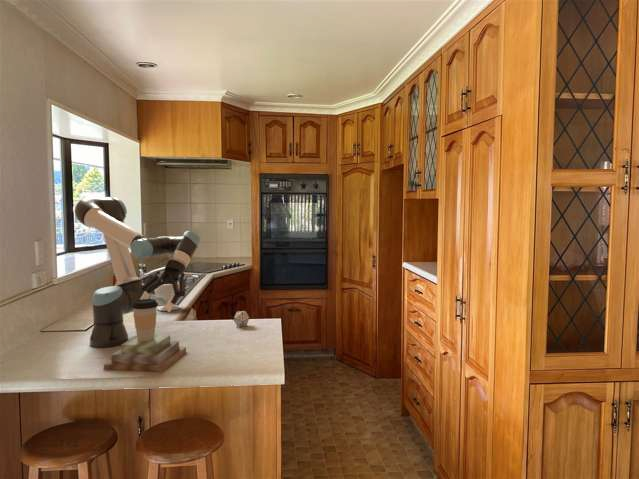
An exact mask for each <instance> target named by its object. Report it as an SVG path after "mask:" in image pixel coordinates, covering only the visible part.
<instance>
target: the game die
mask: <svg viewBox="0 0 639 479" xmlns="http://www.w3.org/2000/svg"><path fill="white" fill-rule="evenodd" d="M251 318H252V316H249V314H248V313H247V309H245V310H241V311H240V310H239V311H237V310H235V314H234V316H233V319H232V321H234V324H235V325H236V328H238V327H247V328H248V327H249V326H248V322H249V320H250V319H251Z"/></svg>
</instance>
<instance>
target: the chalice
mask: <svg viewBox="0 0 639 479" xmlns="http://www.w3.org/2000/svg"><path fill="white" fill-rule="evenodd" d="M177 283H178V288H179V285H180V281H177ZM154 294H155V295H156V296H157V297H159V298H160V299H163V300H164V301H165V302H166V303H165V304H166V305H167V303H168V301H169V299H170V297H171V296H172V294H174V289H173V285H170V284H164V285H161V286H159V287H158V288H156V289H155V290H154ZM174 295H175V294H174ZM166 305H162V306H159V307H157V308H156V311H159V312H161V311H162V312H168V311H167V310H166V309H165V307H166ZM179 309H180V306H178V305H173V307H172V309H171V311H176V310H179ZM171 311H170V312H171Z"/></svg>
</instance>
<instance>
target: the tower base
mask: <svg viewBox="0 0 639 479" xmlns="http://www.w3.org/2000/svg"><path fill="white" fill-rule="evenodd" d="M186 353H187V347H186V346H180V341H179V340H178V341H177V340H171V335H169V334H168V335H166V334H164V335H163V334H155V335H154V340H152V341H149V342H139V341H138V339H137V335H136V336H134V337H132V338H130V339H128V341H127V342H125V343H123V344H121V346H120V349H118V350H116V351H115V352H114V353H112V354H111V359H110V360H107V362H105V363H104V364H103V370H104V369H105V370H104V371H122V370H123V371H126V372H149V373H154V372H155V373H163V372H164V371H165V370H166V369H167V368H169V367H170V366H172V364H174V363H175V362H176V361H177V360H178V359H179V358H181V357H182V356H184V355H185V354H186Z"/></svg>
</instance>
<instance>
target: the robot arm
mask: <svg viewBox="0 0 639 479" xmlns="http://www.w3.org/2000/svg"><path fill="white" fill-rule="evenodd" d="M127 211H128V210H127V207H126V205H125V203H124V202H123V201H122V200H121V199H119V198H118V197H111V196H106V197H105V196H100V197H98V196H97V197H96V196H94V197H92V196H88V197H84V198H82V199H80V200H79V201H78V202H77V203H76V205H75V208H74V216H75V218H76V220H78V222H79V223H81V224H82V225H84V227H85V226H86V227H87V228H90V229H93V228H94V229H95V230H97V231H99V232H100V233H102V235H103V239H104V242H105V245H106V248H107V251H108V252H107V253H108V255H109V259H110V263H111V266H112V269H113V274H114V276H115V279H116V283H115V285H111V286H105V287H101V288H99V289H96V290H95V291H94V292H93V294H92V302H91V304H92V313H93V314H92V315H93V316H92V317H93V327H92V331H91V335H90V337H89V345H90V346H91V347H93V348H111V347H116V346H120V345H122V344H123V343H125V342H127V341H128V340H129V334H128V331H127V328H126V326H125V323H124V315H127V314H130V313H134V312H133V308H132V305H133V304H134V301H136V300H141V299H152V293H153V291H155V289H156V288H158V287H159V286H161V285H164V284H170V285H173V289H174V294H175V295H174V294H172V296H171V297H170V299H169V301H168V303H167V302H166V304H167V305H165V306H166V307H165V309H166V310H167V311H166V312H168V313H171V309H172V307H173V306H175V305H176V303H177V302H178V300H179V298H181V297H185V296H186V280H187V278H188V277H187V275H186V274H185V271H186V268H187V267H188V265H189V263H190V262H191V259H192V258H193V255H194V254H195V252H196V250H197V248H198V246H199V244H200V242H201V238H200V236H199V234H197V233H196V232H194V231H192V230H186V231H185V232H184V233H183V234H182V235H181V236H167V235H164V236H158V237H148V236H146V235H144V234H142V233H141V232H138V231H136V230H135V229H133V228H131V227H130V226H128V225H126V224H125V219H126V217H127V213H128V212H127ZM130 252H131V253H130ZM131 254H132V255H133V257H135V258H137V259H147V258H153V257H158V256H166V255H170V258H169V260H168V261H167V263H166V264H165V267H164V271H163V272H160V271H159V270H158V271H157V270H156V273H155V274H154V275H153V276H152V277H151V278H150V279H149V280H147V281H146V282H145V283H143V280H142V278H140V277H138V276H137V272H136V270H135V265H134V263H133V259H132V255H131ZM178 281H179V284H180V285H179V288H178V283H177V282H178Z"/></svg>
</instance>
